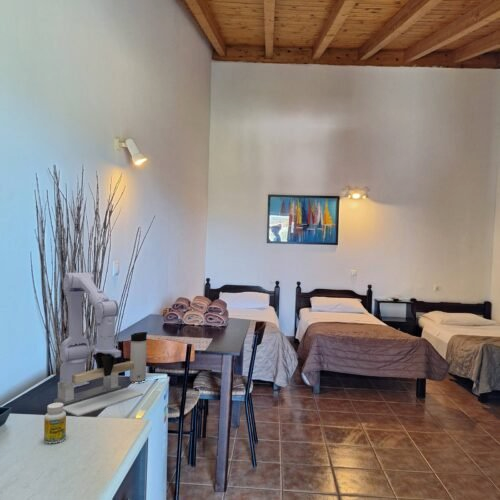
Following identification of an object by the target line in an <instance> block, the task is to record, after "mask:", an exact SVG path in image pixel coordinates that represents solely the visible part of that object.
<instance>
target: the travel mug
mask: <svg viewBox="0 0 500 500" xmlns="http://www.w3.org/2000/svg"><path fill="white" fill-rule="evenodd" d="M147 335H148V331H144V332H143V331H142V332H140V331H139V332H135V333H132V334H130V353H129V354H130V355H129V356H130V357H129V358H130V359H129V361H132V362H134V369H132V370H129V382H130V383H131V382H133V383H132V384H134V383H135V382H142V381H145V379H146V380H147V378H146V376H147V341H148V340H147ZM145 382H146V381H145Z"/></svg>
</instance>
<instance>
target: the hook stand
mask: <svg viewBox="0 0 500 500" xmlns="http://www.w3.org/2000/svg"><path fill="white" fill-rule="evenodd" d="M102 382H103V384H102V385H100V386H97V387H93V388H90V389H86V390H83V391H80V392H76V393H75V388H74V383H68V381H67V380H65V381H61V382H60V381H58V382H57V398H55V399H53V403H63V407H64V406H68V405H71V404H74V403H78V402H81V401H84V400H87V399H91V398H94V397H97V396H101V395H104V394H107V393H111V392H114V391H117V390H120V389H122V386H120V385H119V373H117V374H113V375H109V376H105V377H103V381H102Z"/></svg>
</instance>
